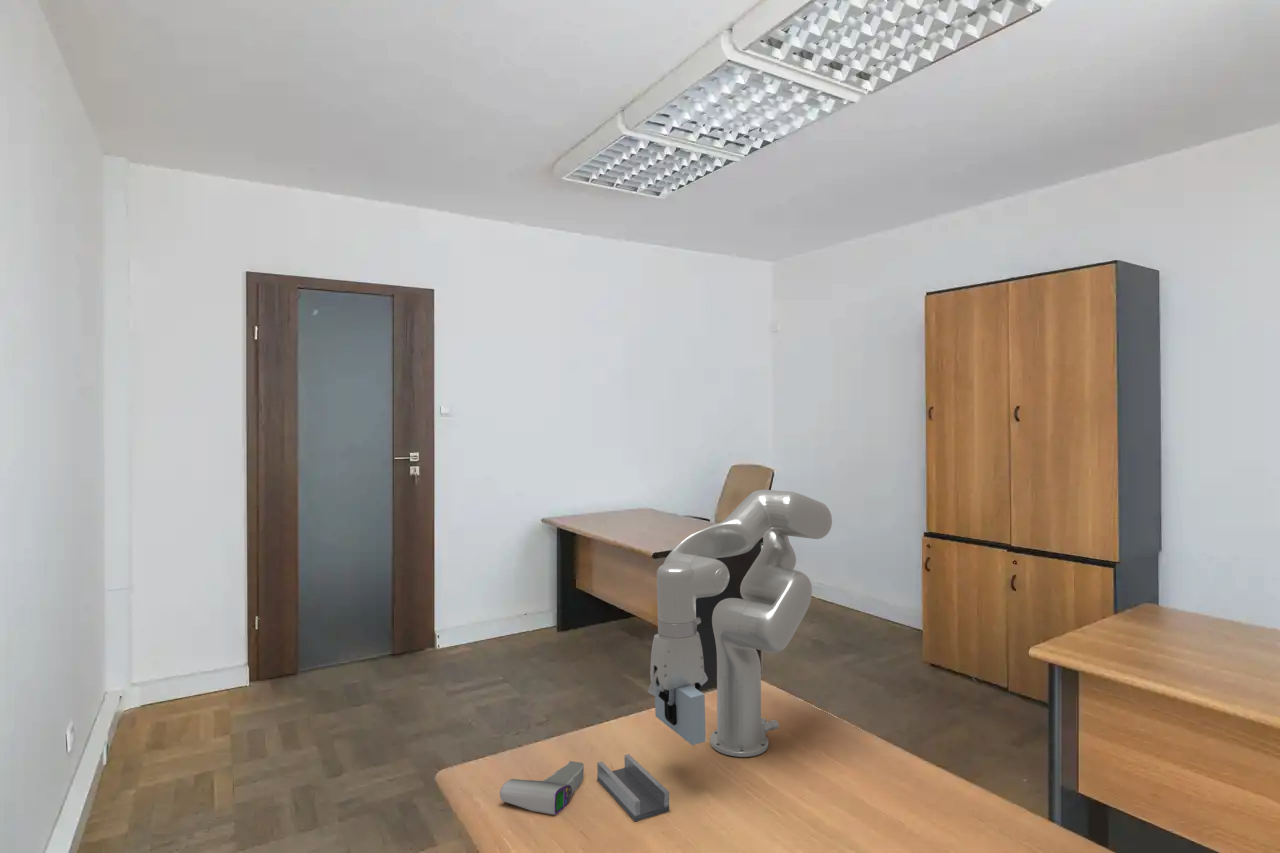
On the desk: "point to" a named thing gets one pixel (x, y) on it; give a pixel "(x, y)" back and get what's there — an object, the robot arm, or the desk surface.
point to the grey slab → (686, 713)
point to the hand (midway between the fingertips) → (679, 719)
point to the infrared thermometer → (545, 790)
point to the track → (634, 789)
